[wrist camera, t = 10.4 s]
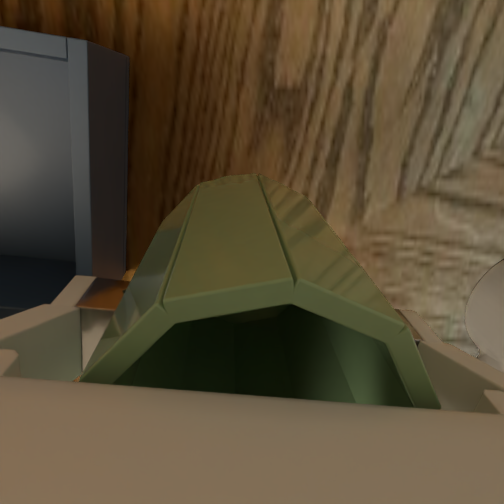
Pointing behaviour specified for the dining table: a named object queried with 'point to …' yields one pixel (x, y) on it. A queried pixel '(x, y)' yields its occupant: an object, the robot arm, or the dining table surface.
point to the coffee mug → (488, 317)
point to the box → (60, 165)
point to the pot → (258, 307)
